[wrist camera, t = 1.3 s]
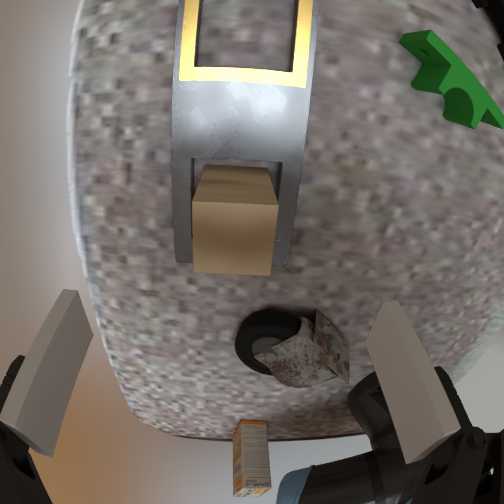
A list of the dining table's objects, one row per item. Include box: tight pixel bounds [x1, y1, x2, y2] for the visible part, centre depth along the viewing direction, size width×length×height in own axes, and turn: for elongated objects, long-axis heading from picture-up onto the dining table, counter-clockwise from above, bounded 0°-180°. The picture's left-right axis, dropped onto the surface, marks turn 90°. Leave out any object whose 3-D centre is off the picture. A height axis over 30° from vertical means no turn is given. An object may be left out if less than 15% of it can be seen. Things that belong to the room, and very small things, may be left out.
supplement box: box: [233, 420, 271, 497], centre depth 43 cm, size 8×5×13 cm, turn 167°
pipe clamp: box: [399, 30, 504, 129], centre depth 19 cm, size 11×4×5 cm, turn 61°
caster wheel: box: [235, 309, 349, 388], centre depth 32 cm, size 7×11×10 cm
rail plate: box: [172, 0, 319, 267], centre depth 21 cm, size 26×10×2 cm, turn 176°
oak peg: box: [192, 165, 279, 276], centre depth 22 cm, size 5×5×8 cm
